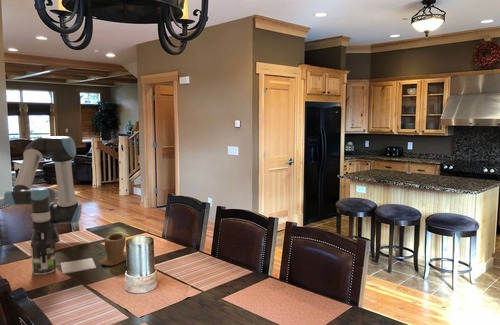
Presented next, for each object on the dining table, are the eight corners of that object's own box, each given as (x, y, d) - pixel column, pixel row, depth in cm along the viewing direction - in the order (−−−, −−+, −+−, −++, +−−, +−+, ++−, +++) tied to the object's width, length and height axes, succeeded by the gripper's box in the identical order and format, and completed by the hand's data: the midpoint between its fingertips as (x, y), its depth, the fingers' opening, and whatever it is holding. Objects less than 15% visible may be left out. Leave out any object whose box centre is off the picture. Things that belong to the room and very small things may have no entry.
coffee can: (60, 270, 192) (58, 242, 191) (38, 276, 184) (36, 247, 182) (49, 265, 198) (48, 238, 197) (28, 271, 190) (26, 243, 189)
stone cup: (113, 269, 193) (112, 239, 192) (96, 265, 199) (95, 236, 197) (136, 260, 206) (135, 232, 205) (120, 256, 212) (119, 229, 210)
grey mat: (60, 263, 200) (60, 263, 200) (92, 258, 208) (92, 258, 207) (62, 273, 187) (62, 272, 187) (96, 268, 194) (96, 267, 194)
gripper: (32, 216, 196) (35, 259, 199) (32, 227, 177) (35, 274, 179) (49, 214, 200) (51, 257, 202) (51, 224, 180) (53, 271, 183)
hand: (44, 265), depth 191 cm, fingers closed on coffee can, 10 cm apart
